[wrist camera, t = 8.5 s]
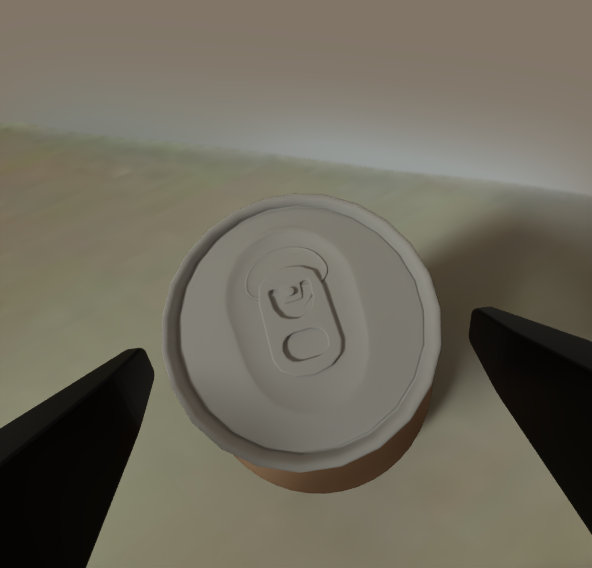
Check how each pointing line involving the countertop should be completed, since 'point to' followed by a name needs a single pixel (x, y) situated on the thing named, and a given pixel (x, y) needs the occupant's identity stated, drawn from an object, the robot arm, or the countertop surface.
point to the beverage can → (301, 332)
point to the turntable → (353, 471)
